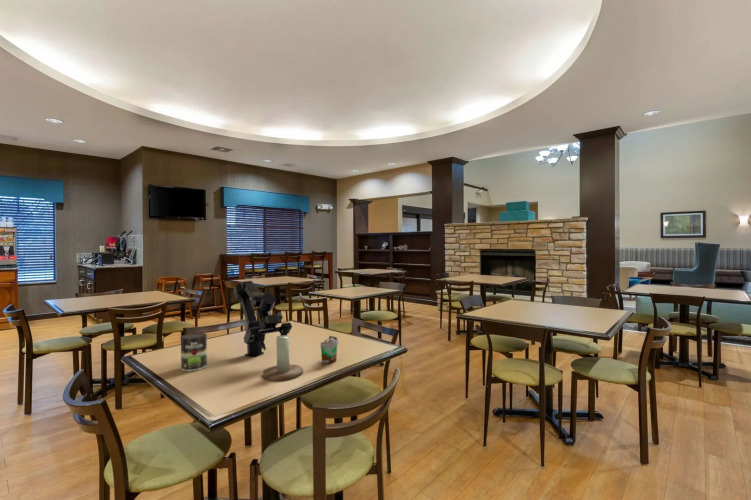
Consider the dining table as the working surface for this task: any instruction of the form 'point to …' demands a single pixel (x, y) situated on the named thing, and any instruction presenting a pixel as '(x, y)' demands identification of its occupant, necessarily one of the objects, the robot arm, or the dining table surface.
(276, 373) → the disc
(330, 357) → the food container
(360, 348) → the dining table surface
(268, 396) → the dining table surface
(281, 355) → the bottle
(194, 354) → the coffee can
